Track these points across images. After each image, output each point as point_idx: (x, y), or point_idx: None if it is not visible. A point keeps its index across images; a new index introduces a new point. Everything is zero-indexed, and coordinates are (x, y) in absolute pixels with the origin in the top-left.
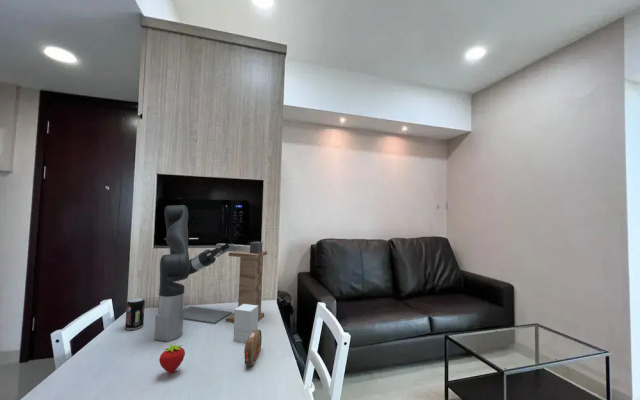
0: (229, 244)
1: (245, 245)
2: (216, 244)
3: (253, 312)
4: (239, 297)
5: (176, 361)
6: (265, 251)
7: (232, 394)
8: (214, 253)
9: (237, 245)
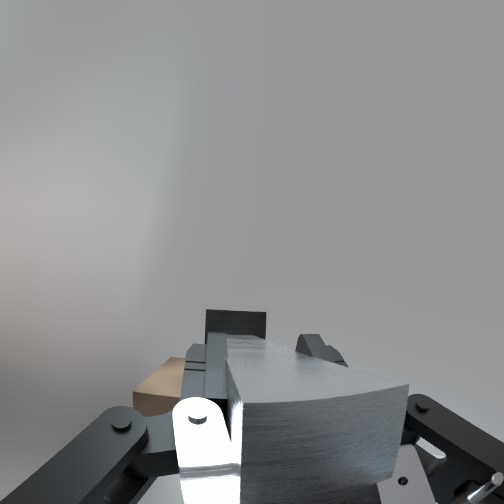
0: (251, 354)
1: (227, 337)
2: (404, 391)
3: None
4: None
5: None
6: (171, 358)
7: (432, 454)
8: (439, 462)
9: (264, 342)
